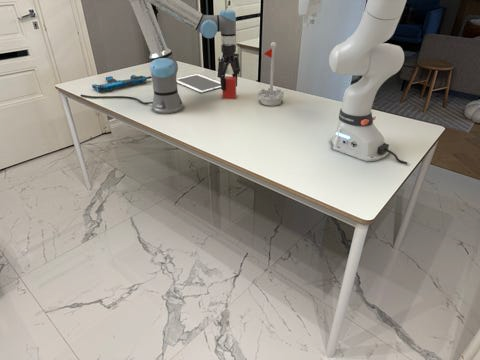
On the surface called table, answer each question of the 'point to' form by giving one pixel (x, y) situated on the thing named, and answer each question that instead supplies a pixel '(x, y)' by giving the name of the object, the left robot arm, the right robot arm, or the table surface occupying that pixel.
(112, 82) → the submachine gun
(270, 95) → the flag stand
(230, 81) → the block
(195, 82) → the tablet
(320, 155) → the table surface
